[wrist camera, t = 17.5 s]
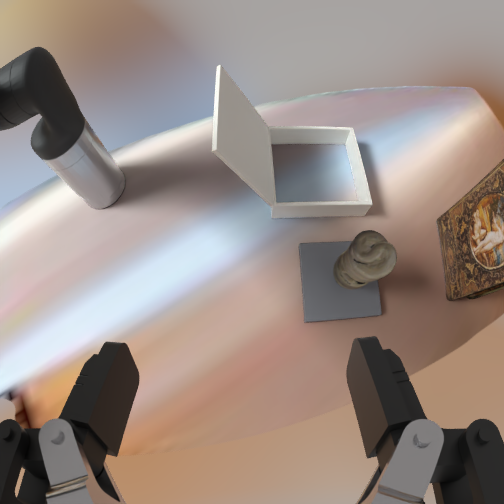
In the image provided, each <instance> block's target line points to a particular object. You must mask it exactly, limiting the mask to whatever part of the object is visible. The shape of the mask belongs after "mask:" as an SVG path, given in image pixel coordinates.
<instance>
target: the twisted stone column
mask: <svg viewBox="0 0 504 504" xmlns="http://www.w3.org/2000/svg"><path fill="white" fill-rule="evenodd" d="M396 259H397V254H396V251H395V248H394V247H393V245H392V244H390V243H388V242H387V240H386V239H385V238H384V237H383V236H382V235H381V234H380V233H378V232H376V231H372V230H368V231H363V232H361V233H359V234H358V235H357V236H356V237H355V239H354V240H353V241H352V242H351V244H350V246H349V247H348V249H347V250H346V251H344V252H343V253H342V254H341V255H340V256H339V257H338V259H337V260H336V262H335V264H334V267H333V274H334V278H335V280H336V282H337V283H338V284H339V285H340V286H341V287H343V288H345V289H350V290H353V289H358V288H360V287H363V286H364V285H366V284H368V283H369V282H372V281H375V280H378V279H380V278H383V277H385V276H386V275H388V274H389V273H390V272H391V271H392V270H393V268H394V266H395V264H396Z"/></svg>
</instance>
